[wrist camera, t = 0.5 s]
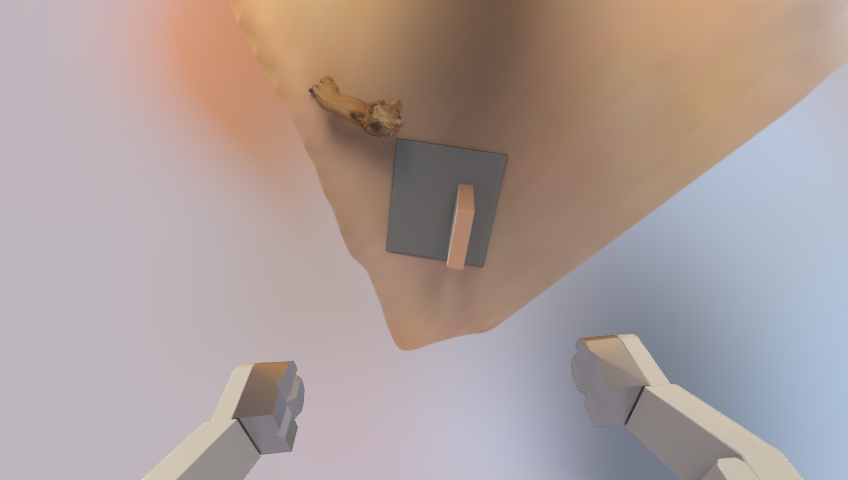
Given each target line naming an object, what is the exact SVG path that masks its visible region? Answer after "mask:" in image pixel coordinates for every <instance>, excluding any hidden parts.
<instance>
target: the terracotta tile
mask: <svg viewBox="0 0 848 480" xmlns="http://www.w3.org/2000/svg"><path fill="white" fill-rule="evenodd" d="M474 212H475V208H474V191H473V185H468V184H461V183H460V185H458V191H457V197H456V202H455V208H454V214H453V220H452V225H451V231H450V240H449V248H448V257H447V266H448V267H447V268H451V269H457V270H463V268H464V263H465V258H466V253H467V248H468V243H469V238H470V233H471V228H472V222H473V217H474Z"/></svg>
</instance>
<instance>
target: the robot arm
mask: <svg viewBox="0 0 848 480" xmlns="http://www.w3.org/2000/svg"><path fill="white" fill-rule="evenodd" d="M576 348H577V350H578V353H577V354H576V355H574V356H573V358H572V363H571V369H572V376H573V379H574V382H575V385H576V387H577V389H578V390H579V391H580V392H581V393H583V394H584V395H585V396H586V400H585V403H584V405H585V407H586V409H587V412H588V414H589V416H590V418H591V421H592V423H593V425H594V427H608V426H626V428H627V429H628V430H629V431H630V432H631V433H632V434H633V435H634V436H635V437H636V438H637V439H639V441H641V442H642V443H643V444H644V445H645V446H646V447H647V448H648V449H649V450H650V451H651V452H652V453H653V454H654V455H656V456H657V457H658V458H659V459H660V460H661V461H662V462H663V463H664V464H665V465H666V466H667V467H668V468H670V470H672V471H673V472H674V473H675V474H676V475H677V476H678V477H679V478H680V479H681V480H804V479H803V478H802V477H801V475H800V474H799V473H798V472H797V471H796V469H795V468H794V467H793V466H792V464H790V462H789V461H788V460H787V458H786V457H785V456H784V455H783V454H782V452H780V451H779V450H777V449H775V448H774V447H772V446H771V445H769V444H768V443H766V442H765V441H763V440H762V439H760V438H759V437H757V436H755V435H754V434H752V433H751V432H749V431H748V430H746V429H745V428H743V427H742V426H740V425H739V424H737V423H735V422H734V421H732V420H731V419H729V418H728V417H726V416H725V415H723V414H722V413H720V412H718V411H717V410H715V409H714V408H712V407H711V406H709V405H708V404H706V403H705V402H703V401H702V400H700V399H698V398H697V397H695V396H694V395H692V394H691V393H689V392H688V391H686V390H685V389H683V388H681V387H680V386H678V385H677V384H670V383H669V381H668V380H667V378H666V377H665V376H664V374H663V372H662V371H661V370H660V368H659V367H658V365H657V364H656V362H655V361H654V360H653V358H652V357H651V355H650V354H649V353H648V351H647V350H646V348H645V347H644V345H643V344H642V342H641V341H640V340H639V338H638V337H637V336H636V335H634V334H626V335H625V334H624V335H615V336H614V335H607V336H597V337H587V338H580V339H579V340H578V341H577V343H576ZM296 371H297V367H296V365H295V363H294V361H287V362H268V363H250V364H238V365H237V366H236V368H235V369H234V370H233V372H232V374H231V376H230V378H229V381H228V383H227V385H226V387H225V390H224V392H223V394H222V396H221V398H220V400H219V403H218V405H217V407H216V409H215V411H214V414H213V416H212V418H211V420H210V421H205V422H204V423H202V424H201V425H200V426H199V427H198V428H197V429H196V430H195V431H194V432H193V433H192V434H190V435H189V436H188V437H187V438H186V439H185V440H184V441H183V442H182V443H181V444H179V445H178V446H177V447H176V448H175V449H174V450H173V451H172V452H171V453H170V454H169V455H167V456H166V457H165V458H164V459H163V460H162V461H161V462H160V463H159V464H158V465H157V466H156V467H154V469H152V470H151V471H150V472H149V473H148V474H147V475H146V476H145V477H143V479H141V480H243V479H244V478H245V477H246V475H247V474H248V473H249V472H250V470H251V468H253V466H254V465H255V464H256V462H257V461H258V460H259V458H260V457H261V456H260V455H263V454H272V453H281V452H291V451H292V448H293V444H294V440H295V436H296V432H297V428H298V427H297V424H296V422H295V420H294V419H295V418H296V417H297V416H298V415H299V414H300V412H301V411H302V407H303V402H304V385H303V382H302V379H301V378H300V377H299V376H297V375H296Z"/></svg>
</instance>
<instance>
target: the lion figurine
mask: <svg viewBox="0 0 848 480" xmlns="http://www.w3.org/2000/svg"><path fill="white" fill-rule="evenodd" d="M320 82H321V84H320V86H319V88H318V86H317V85H314V86H313V87H312V88H311V89H309V92H313V93H315V95H316V100H317V102H318V104H319V105H320V106H321V107H322V108H324V109H325V110H328V111H332V112H334V113H336V114H338V115H340V116H341V117H343V118H345V119H346V120H348V121H350V122H352V123H354V124H356V125H359V126H361V127H362V128H363V129H364V130H365V131H366V132H367V133H368V134H371V136H373V135H374V136H379V137H381V136H384V137H385V136H389V135H390V136H391V135H392V134H393V133H396V132H398V131H399V128H400V127H401V126H402V125H403V123H404V121H403V119H402V118H401V116H400V115H399V114H400V110H401V109H402V103H401V101H400V99H394V100H393V101H392V102H391V104H390V105H389V104H388V105H386V102H385V101H384V100H382V101H379V102H373V103H368V104H366V103H365V102H363V101H361V100H359V99H356V98H353V97H350V96H345V95H342V94H340V93H339V91H338V87H337V86H336V85H335V83H333V80H332V78H331V77H322V78H321V79H320Z"/></svg>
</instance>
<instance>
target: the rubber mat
mask: <svg viewBox="0 0 848 480" xmlns="http://www.w3.org/2000/svg"><path fill="white" fill-rule="evenodd" d="M507 156H508V155H504V154H497V153H490V152H484V151H477V150H470V149H464V148H457V147H451V146H444V145H437V144H431V143H424V142H418V141H411V140H404V139H397V144H396V154H395V164H394V175H393V185H392V195H391V206H390V216H389V226H388V237H387V247H386V251H392V252H398V253H404V254H410V255H416V256H422V257H428V258H434V259H440V260H446V261H447V257H448V248H449V240H450V231H451V225H452V220H453V214H454V208H455V202H456V197H457V191H458V185H460V183H461V184H468V185H473V191H474V208H475V212H474V217H473V222H472V228H471V233H470V238H469V243H468V248H467V253H466V258H465V263H464V264H470V265H476V266H482V267H483V264H484V259H485V255H486V250H487V246H488V241H489V237H490V232H491V228H492V223H493V219H494V214H495V210H496V206H497V201H498V197H499V192H500V188H501V183H502V179H503V174H504V170H505V165H506V161H507Z"/></svg>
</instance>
